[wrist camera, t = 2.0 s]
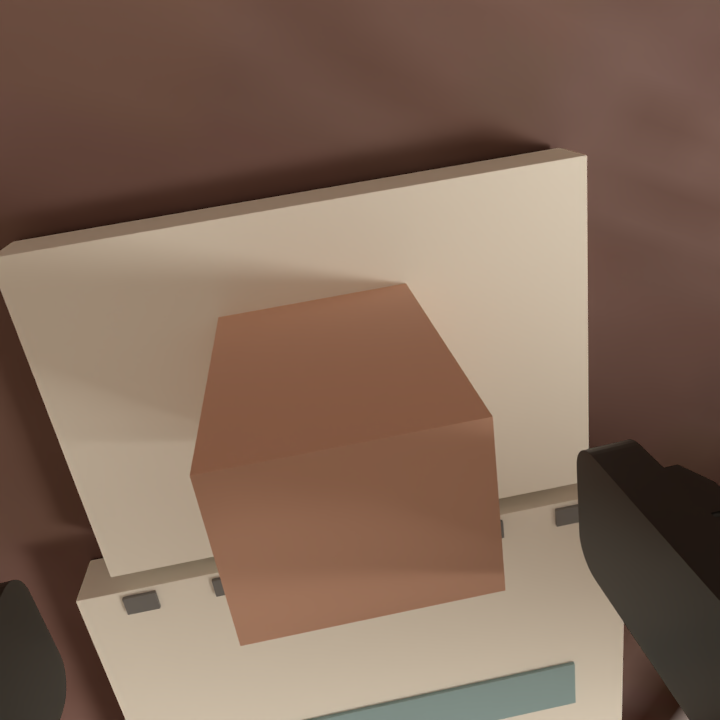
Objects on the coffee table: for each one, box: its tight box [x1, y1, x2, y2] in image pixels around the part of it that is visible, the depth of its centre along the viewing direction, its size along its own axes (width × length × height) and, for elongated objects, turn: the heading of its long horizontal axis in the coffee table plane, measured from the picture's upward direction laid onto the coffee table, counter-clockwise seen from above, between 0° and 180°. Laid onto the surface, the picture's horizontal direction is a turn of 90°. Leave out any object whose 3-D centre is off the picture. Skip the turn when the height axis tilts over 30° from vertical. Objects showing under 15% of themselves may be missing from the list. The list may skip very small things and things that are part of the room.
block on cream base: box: [0, 148, 589, 646], centre depth 13 cm, size 12×8×7 cm, turn 98°
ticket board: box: [76, 483, 624, 720], centre depth 20 cm, size 14×10×2 cm
